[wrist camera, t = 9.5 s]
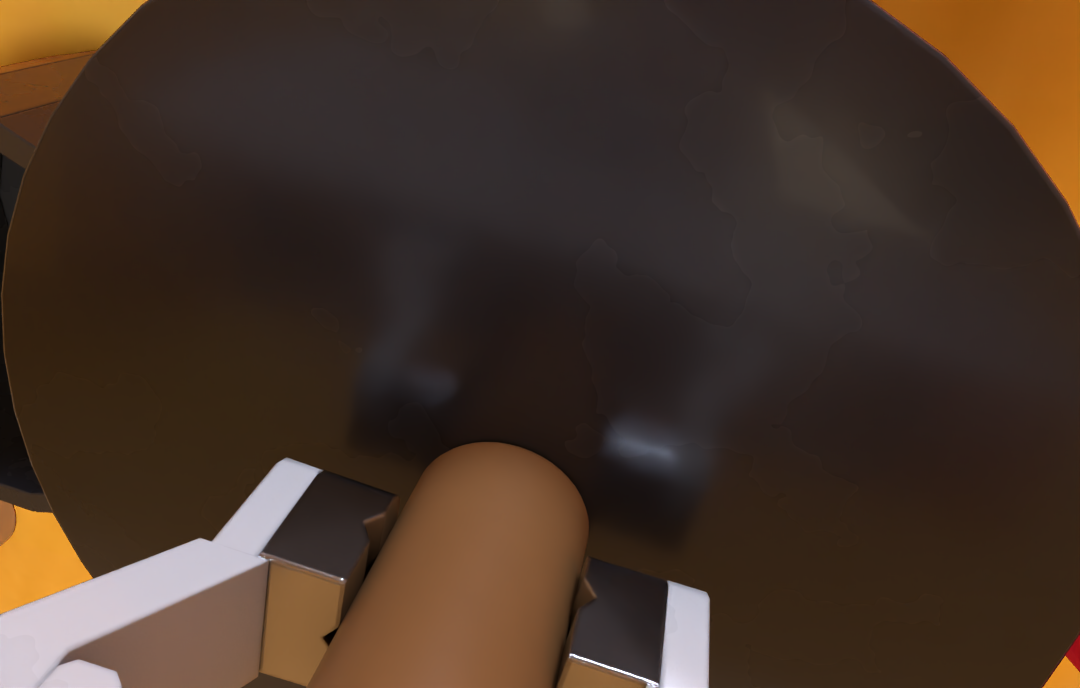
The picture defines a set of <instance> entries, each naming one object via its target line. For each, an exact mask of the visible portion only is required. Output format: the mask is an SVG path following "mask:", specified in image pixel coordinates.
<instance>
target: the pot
mask: <svg viewBox="0 0 1080 688" xmlns="http://www.w3.org/2000/svg"><path fill="white" fill-rule="evenodd" d="M95 52H96V51H88V52H80V53H75V54H66V55H57V56H50V57H45V58H41V59H36V60H31V61H26V62H21V63H16V64H12V65H7V66H2V67H0V500H1V501H4V502H7V503H10V504H13V505H16V506H19V507H22V508H25V509H28V510H31V511H36V512H49V513H53V512H52V510H51V507H50V505H49V503H48V501H47V498H46V496H45V494H44V492H43V489H42V487H41V485H40V483H39V481H38V478H37V476H36V474H35V472H34V469H33V467H32V465H31V462H30V459H29V456H28V453H27V450H26V447H25V443H24V440H23V437H22V434H21V431H20V427H19V424H18V421H17V418H16V415H15V412H14V408H13V402H12V397H11V391H10V386H9V380H8V375H7V369H6V364H5V358H4V351H3V328H2V305H1V291H2V281H3V271H4V262H5V252H6V242H7V234H8V230H9V227H10V223H11V219H12V215H13V212H14V208H15V204H16V200H17V197H18V193H19V189H20V185H21V182H22V178H23V175H24V172H25V170H26V168H27V166H28V164H29V161H30V159H31V157H32V155H33V153H34V150H35V148H36V146H37V144H38V142H39V139H40V137H41V135H42V133H43V131H44V128H45V126H46V124H47V122H48V120H49V117H50V115H51V114H52V112H53V111H54V110H55V108H56V107H57V105H58V104H59V102H60V101H61V99H62V98H63V96H64V95H65V93H66V92H67V91H68V89H69V88H70V86H71V85H72V83H73V82H74V80H75V79H76V77H77V76H78V74H79V73H80V72H81V70H82V69H83V67H84V66H85V64H86V63H87V61H88V60H89V58H90V57H91V56H92V55H93V54H94V53H95Z"/></svg>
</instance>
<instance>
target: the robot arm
mask: <svg viewBox="0 0 1080 688" xmlns="http://www.w3.org/2000/svg"><path fill="white" fill-rule="evenodd" d="M399 504H400V498H399V496H398V495H396V494H393V493H390V492H387V491H384V490H382V489H379V488H376V487H373V486H370V485H367V484H364V483H361V482H359V481H356V480H353V479H350V478H347V477H344V476H341V475H338V474H336V473H333V472H330V471H327V470H324V471H323V470H321V469H318V468H315V467H313V466H310V465H307V464H304V463H301V462H299V461H296V460H293V459H290V458H285V459H283V460H281V461H279V462H278V463H276V464H275V465H274V467H273V468H272V469H271V470H270V471H269V473H268V474H267V475H266V476H265V477H264V479H263V480H262V481H261V482H260V483H259V485H258V486H257V487H256V488H255V489H254V491H253V492H252V493H251V494H250V496H249V497H248V498H247V499H246V500H245V502H244V503H243V504H242V505H241V506H240V508H239V509H238V510H237V511H236V512H235V514H234V515H233V516H232V517H231V519H230V520H229V521H228V522H227V523H226V525H225V526H224V527H223V528H222V529H221V531H220V532H219V533H218V534H217V535H216V537H215V538H214V539H213V540H212V541H208V540H205V539H202V538H198V539H196V540H193V541H190V542H188V543H185V544H183V545H180V546H177V547H175V548H172V549H170V550H167V551H164V552H162V553H159V554H156V555H154V556H151V557H149V558H146V559H143V560H141V561H138V562H136V563H133V564H130V565H128V566H125V567H123V568H120V569H117V570H115V571H112V572H109V573H107V574H104V575H102V576H99V577H96V578H94V579H91V580H89V581H86V582H83V583H81V584H78V585H76V586H73V587H70V588H68V589H65V590H62V591H60V592H57V593H55V594H52V595H49V596H47V597H44V598H42V599H39V600H36V601H34V602H31V603H29V604H26V605H23V606H21V607H18V608H15V609H13V610H10V611H8V612H5V613H2V614H0V688H241V687H243V686H245V685H246V684H248V683H249V682H251V681H252V680H254V679H255V678H257V677H258V674H259V672H261V673H264V674H267V675H271V676H274V677H277V678H280V679H284V680H287V681H290V682H293V683H297V684H300V685H303V686H306V687H307V686H308V684H309V682H310V680H311V678H312V676H313V674H314V673H315V671H316V669H317V667H318V665H319V663H320V662H321V660H322V658H323V656H324V654H325V652H326V651H327V649H328V647H329V645H330V643H331V641H332V639H333V638H334V636H335V634H336V632H337V630H338V628H339V627H340V625H341V623H342V621H343V619H344V617H345V615H346V614H347V612H348V610H349V608H350V606H351V604H352V603H353V601H354V599H355V597H356V595H357V593H358V591H359V590H360V588H361V586H362V584H363V582H364V580H365V579H366V577H367V575H368V573H369V571H370V569H371V567H372V566H373V564H374V562H375V560H376V558H377V556H378V555H379V553H380V551H381V549H382V547H383V545H384V543H385V542H386V540H387V538H388V536H389V534H390V532H391V530H392V529H393V527H394V525H395V523H396V521H397V517H398V511H399ZM709 633H710V598H709V596H708V594H707V592H705V591H701V590H698V589H695V588H691V587H688V586H685V585H682V584H678V583H675V582H672V581H668V580H667V581H665V580H663V579H660V578H657V577H654V576H650V575H647V574H644V573H641V572H638V571H634V570H631V569H628V568H625V567H622V566H618V565H615V564H612V563H609V562H606V561H602V560H599V559H596V558H593V557H590V556H587V558H586V560H585V563H584V565H583V568H582V571H581V573H580V576H579V579H578V583H577V588H576V592H575V596H574V601H573V605H572V609H571V614H570V623H569V628H568V633H567V637H566V642H565V644H564V647H563V651H562V655H561V660H560V665H559V670H558V674H557V679H556V684H555V688H709Z"/></svg>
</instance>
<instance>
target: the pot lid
mask: <svg viewBox="0 0 1080 688" xmlns="http://www.w3.org/2000/svg"><path fill="white" fill-rule="evenodd" d="M1 305H2V328H3V351H4V358H5V364H6V369H7V375H8V380H9V386H10V391H11V397H12V402H13V408H14V412H15V415H16V418H17V421H18V424H19V427H20V431H21V434H22V437H23V440H24V443H25V447H26V450H27V453H28V456H29V459H30V462H31V465H32V467H33V469H34V472H35V474H36V476H37V478H38V481H39V483H40V485H41V487H42V489H43V492H44V494H45V496H46V498H47V501H48V503H49V505H50V507H51V510H52V512H53V514H54V516H55V517H56V519H57V521H58V523H59V524H60V526H61V528H62V530H63V531H64V533H65V535H66V536H67V538H68V540H69V542H70V543H71V545H72V547H73V548H74V550H75V552H76V554H77V555H78V557H79V559H80V560H81V562H82V563H83V565H84V566H85V568H86V569H87V570H88V572H89V573H90V574H91V576H92V577H93V579H94V578H96V577H99V576H102V575H104V574H107V573H109V572H112V571H115V570H117V569H120V568H123V567H125V566H128V565H130V564H133V563H136V562H138V561H141V560H143V559H146V558H149V557H151V556H154V555H156V554H159V553H162V552H164V551H167V550H170V549H172V548H175V547H177V546H180V545H183V544H185V543H188V542H190V541H193V540H196V539H198V538H202V539H205V540H208V541H212V540H213V539H214V538H215V537H216V535H217V534H218V533H219V532H220V531H221V529H222V528H223V527H224V526H225V525H226V523H227V522H228V521H229V520H230V519H231V517H232V516H233V515H234V514H235V512H236V511H237V510H238V509H239V508H240V506H241V505H242V504H243V503H244V502H245V500H246V499H247V498H248V497H249V496H250V494H251V493H252V492H253V491H254V489H255V488H256V487H257V486H258V485H259V483H260V482H261V481H262V480H263V479H264V477H265V476H266V475H267V474H268V473H269V471H270V470H271V469H272V468H273V467H274V465H275V464H276V463H278V462H279V461H281V460H283V459H285V458H290V459H293V460H296V461H299V462H301V463H304V464H307V465H310V466H313V467H315V468H318V469H321V470H323V471H324V470H327V471H330V472H333V473H336V474H338V475H341V476H344V477H347V478H350V479H353V480H356V481H359V482H361V483H364V484H367V485H370V486H373V487H376V488H379V489H382V490H384V491H387V492H390V493H393V494H396V495H398V496H399V498H400V504H399V511H398V517H397V521H396V523H395V525H394V527H393V529H392V530H391V532H390V534H389V536H388V538H387V540H386V542H385V543H384V545H383V547H382V549H381V551H380V553H379V555H378V556H377V558H376V560H375V562H374V564H373V566H372V567H371V569H370V571H369V573H368V575H367V577H366V579H365V580H364V582H363V584H362V586H361V588H360V590H359V591H358V593H357V595H356V597H355V599H354V601H353V603H352V604H351V606H350V608H349V610H348V612H347V614H346V615H345V617H344V619H343V621H342V623H341V625H340V627H339V628H338V630H337V632H336V634H335V636H334V638H333V639H332V641H331V643H330V645H329V647H328V649H327V651H326V652H325V654H324V656H323V658H322V660H321V662H320V663H319V665H318V667H317V669H316V671H315V673H314V674H313V676H312V678H311V680H310V682H309V684H308V686H307V687H306V686H303V685H300V684H297V683H293V682H290V681H287V680H284V679H280V678H277V677H274V676H271V675H267V674H264V673H261V672H259V674H258V677H257V678H255V679H254V680H252V681H251V682H249V683H248V684H246V685H245V686H243V687H241V688H555V684H556V679H557V674H558V670H559V665H560V660H561V655H562V651H563V647H564V644H565V642H566V637H567V633H568V628H569V623H570V614H571V609H572V605H573V601H574V596H575V592H576V588H577V583H578V579H579V576H580V573H581V571H582V568H583V565H584V563H585V560H586V558H587V556H590V557H593V558H596V559H599V560H602V561H606V562H609V563H612V564H615V565H618V566H622V567H625V568H628V569H631V570H634V571H638V572H641V573H644V574H647V575H650V576H654V577H657V578H660V579H663V580H665V581H667V580H668V581H672V582H675V583H678V584H682V585H685V586H688V587H691V588H695V589H698V590H701V591H705V592H707V594H708V596H709V598H710V633H709V688H1042V687H1043V686H1044V685H1045V683H1046V682H1047V681H1048V679H1049V678H1050V676H1051V675H1052V674H1053V672H1054V671H1055V669H1056V668H1057V666H1058V665H1059V664H1060V662H1061V661H1062V659H1063V658H1064V656H1065V655H1066V654H1067V652H1068V651H1069V649H1070V648H1071V646H1072V645H1073V644H1074V642H1075V641H1076V639H1077V638H1078V636H1079V635H1080V227H1079V225H1078V223H1077V221H1076V219H1075V217H1074V215H1073V213H1072V211H1071V209H1070V206H1069V204H1068V202H1067V201H1066V199H1065V198H1064V196H1063V195H1062V194H1061V192H1060V191H1059V189H1058V188H1057V186H1056V185H1055V184H1054V182H1053V181H1052V179H1051V178H1050V176H1049V175H1048V174H1047V172H1046V171H1045V169H1044V168H1043V166H1042V165H1041V164H1040V162H1039V161H1038V159H1037V158H1036V157H1035V155H1034V154H1033V152H1032V151H1031V149H1030V148H1029V147H1028V145H1027V144H1026V142H1025V141H1024V139H1023V138H1022V137H1021V135H1020V134H1019V132H1018V131H1017V129H1016V128H1015V127H1014V125H1013V124H1012V123H1011V122H1010V121H1009V120H1008V119H1007V118H1006V117H1005V116H1004V115H1003V114H1002V113H1001V112H1000V111H999V110H998V109H997V108H996V107H995V106H994V105H993V104H992V103H991V102H990V101H989V100H988V99H987V98H986V97H985V96H984V95H983V94H982V93H981V92H980V90H979V89H978V88H977V87H976V86H975V85H974V84H973V83H972V82H971V81H970V80H969V79H968V78H967V77H966V76H965V75H964V74H963V73H962V72H961V71H960V70H959V69H958V68H957V67H956V66H955V65H954V64H953V63H952V62H951V61H950V60H949V59H948V58H947V57H946V56H945V55H944V54H943V53H942V52H940V51H939V50H938V49H936V48H935V47H934V46H932V45H931V44H929V43H928V42H927V41H925V40H924V39H923V38H921V37H920V36H919V35H917V34H916V33H915V32H913V31H912V30H911V29H909V28H908V27H907V26H905V25H904V24H903V23H901V22H900V21H899V20H897V19H896V18H895V17H893V16H892V15H890V14H889V13H888V12H886V11H885V10H884V9H882V8H881V7H880V6H878V5H877V4H876V3H874V2H873V1H872V0H148V1H146V2H145V3H143V4H142V5H141V6H140V7H139V8H138V9H137V10H136V11H135V12H134V13H133V14H132V15H131V16H130V17H129V18H128V19H127V20H126V21H125V22H124V23H123V24H122V25H121V26H120V27H119V28H118V29H117V30H116V32H115V33H114V34H113V35H112V36H111V37H110V38H109V39H108V40H107V41H106V42H105V43H104V44H103V45H102V46H101V47H100V48H99V49H98V50H97V51H96V52H95V53H94V54H93V55H92V56H91V57H90V58H89V60H88V61H87V63H86V64H85V66H84V67H83V69H82V70H81V72H80V73H79V74H78V76H77V77H76V79H75V80H74V82H73V83H72V85H71V86H70V88H69V89H68V91H67V92H66V93H65V95H64V96H63V98H62V99H61V101H60V102H59V104H58V105H57V107H56V108H55V110H54V111H53V112H52V114H51V115H50V117H49V120H48V122H47V124H46V126H45V128H44V131H43V133H42V135H41V137H40V139H39V142H38V144H37V146H36V148H35V150H34V153H33V155H32V157H31V159H30V161H29V164H28V166H27V168H26V170H25V172H24V175H23V178H22V182H21V185H20V189H19V193H18V197H17V200H16V204H15V208H14V212H13V215H12V219H11V223H10V227H9V230H8V234H7V242H6V252H5V262H4V271H3V281H2V291H1Z"/></svg>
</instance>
